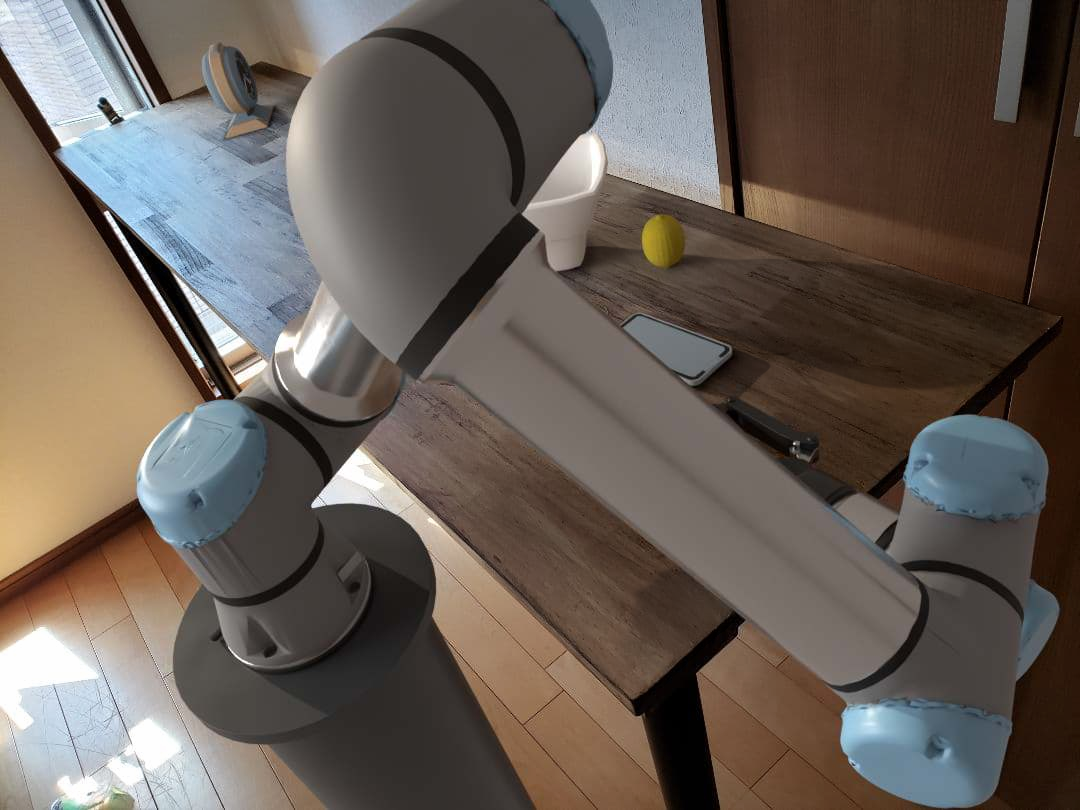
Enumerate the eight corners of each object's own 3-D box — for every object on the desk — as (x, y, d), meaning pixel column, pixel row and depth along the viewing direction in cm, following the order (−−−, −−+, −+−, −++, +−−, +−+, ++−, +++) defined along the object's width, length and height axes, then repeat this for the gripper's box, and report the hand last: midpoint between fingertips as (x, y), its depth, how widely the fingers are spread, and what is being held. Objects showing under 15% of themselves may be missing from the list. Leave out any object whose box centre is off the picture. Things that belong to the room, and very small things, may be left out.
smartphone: (637, 310, 105) (735, 347, 95) (638, 316, 105) (736, 353, 96) (597, 342, 102) (694, 384, 92) (598, 348, 102) (695, 390, 92)
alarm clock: (267, 128, 187) (230, 49, 175) (225, 140, 187) (186, 61, 176) (273, 105, 198) (239, 29, 186) (234, 116, 198) (198, 41, 187)
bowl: (625, 287, 110) (607, 193, 101) (483, 309, 114) (454, 220, 105) (623, 215, 124) (607, 127, 115) (497, 236, 128) (472, 152, 119)
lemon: (638, 273, 112) (629, 221, 107) (663, 252, 115) (655, 200, 109) (672, 283, 109) (664, 230, 104) (696, 261, 111) (690, 207, 106)
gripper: (759, 635, 65) (565, 493, 80) (902, 492, 71) (698, 386, 87) (754, 578, 60) (548, 438, 75) (908, 429, 67) (690, 329, 82)
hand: (628, 410), depth 81 cm, fingers open, 6 cm apart
